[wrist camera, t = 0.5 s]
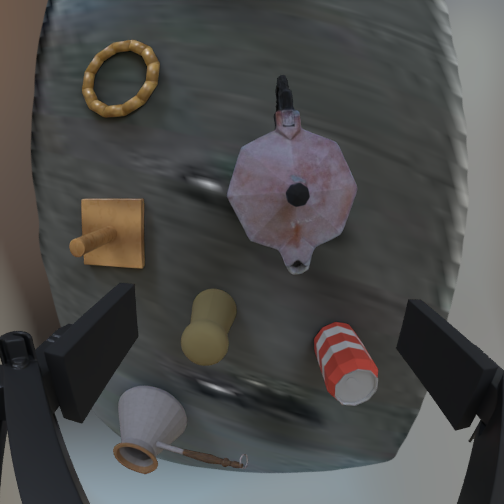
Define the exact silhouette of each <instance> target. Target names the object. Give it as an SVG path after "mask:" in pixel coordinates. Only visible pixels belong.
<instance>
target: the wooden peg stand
mask: <svg viewBox="0 0 504 504" xmlns="http://www.w3.org/2000/svg"><path fill="white" fill-rule="evenodd" d="M70 251H71V253H72V254H73V255H74V256H75V257H81V256H83V255H84V264H87V265H100V266H114V267H127V268H143V267H144V266H145V254H144V199H82V236H81V237H79V238H76V239H74V240H72V241H71V243H70Z"/></svg>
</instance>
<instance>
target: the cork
mask: <svg viewBox="0 0 504 504" xmlns="http://www.w3.org/2000/svg"><path fill="white" fill-rule="evenodd" d="M236 312H237V309H236V304H235V302H234V300H233V298H232V297H231V296H230V295H229V294H228V293H226V292H224V291H222V290H219V289H207V290H205V291H202V292H201V293H199V294H198V295H197V296H196V298H195V300H194V301H193V306H192V314H191V322H190V325H188V326H187V327H186V328H185V330H184V332H183V334H182V337H181V346H182V351H183V352H184V354H185V356H186V357H187V358H188V359H190V360H191V361H192V362H194V363H196V364H198V365H203V366H205V365H213V364H216V363H218V362H219V361H220V360H222V359H223V357H224V356H225V354H226V353H227V350H228V346H229V341H228V336H227V334H228V332H229V330H230V328H231V326H232V323H233V321H234V319H235V317H236Z"/></svg>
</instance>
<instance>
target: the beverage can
mask: <svg viewBox="0 0 504 504" xmlns="http://www.w3.org/2000/svg"><path fill="white" fill-rule="evenodd" d="M314 351H315V354H316V357H317V360H318V363H319V366H320V369H321V372H322V375H323V378H324V381H325V384H326V388H327V391H328V392H329V393H330V394H331V395H332V396H333V397H334V398H335V399H336V400H338V401H339V402H340V403H341V404H342V405H352V406H356V405H358V404H360V403H363V402H365V401H367V400H369V399H370V397H371V396H372V395H373V394H374V393H375V392H376V390H377V384H378V378H377V376H378V368H377V367H376V365H375V363H374V362H373V360H372V358H371V357H370V355H369V353H368V352H367V350H366V349H365V347H364V345H363V344H362V342H361V340H360V339H359V337H358V336H357V334H356V332H355V331H354V330H353V329H352V328H351V327H350V325H349V324H345V323H339V322H334V323H332V324H330V325H327V326H325V327H323V328H322V329H321V330H320V331H319V333H318V334H317V336H316V337H315V338H314Z"/></svg>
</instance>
